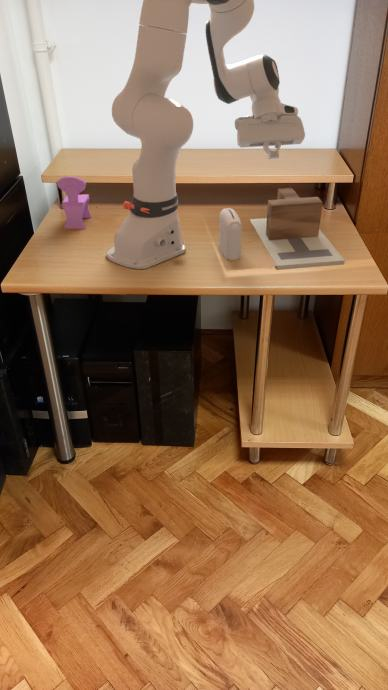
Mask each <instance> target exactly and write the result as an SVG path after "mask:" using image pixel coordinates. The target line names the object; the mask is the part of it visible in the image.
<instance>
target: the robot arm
mask: <svg viewBox="0 0 388 690" xmlns="http://www.w3.org/2000/svg"><path fill="white" fill-rule="evenodd" d="M192 4H199V5H208V6H209V9H210V17H209V18H208V20H206V22H205V38H206V46H207V51H208V56H209V61H210V66H211V71H212V76H213V88H214V91H215V94H216V96H217V99H218V100H220V101H221V102H223V103H226V104H227V105H231V104H233V103H235V102H238V101H240V100H242V99H245V98H248V97H250V99H251V112H252V115H247V116H243V115H242V116H238V117H237V118H235V120H234V128H235V129H236V131H237V132H236V133H237V134H236V139H237V141H236V142H237V146H238V147H239V148H254V147H255V148H256V147H262V150H263V151H264V152H265V153H266V154H267V158H268V160H271V159H272V160H273V159H276V160H277V159H279V157H280V153H279V152H280V148H281V146H290V145H291V146H292V145H301V144H302V143H303V142H304V140H305V137H306V132H305V128H304V125H303V121H302V119H301V117H299V116H298V114H299V109H298V107H296V106H292V105H290V104H289V105H288V104H285V103H283V102H281V99H280V97H279V95H280V94H279V93H280V92H279V91H280V89H279V87H280V84H281V83H280V76H279V70H278V65H277V62H276V61H275V59H274V58H272V57H270V56H269V55H267V54H264V53H263V54H259V55H255V56H253V57H249V58H247V59H245V60H242V61H239V62H235V63H232V64H228V63H227V64H226V60H225V54H224V47H225V46H226V44H228V42H230V40H232V39H233V38H235V36H237V35H238V34H239V33H241V32H242V31H243V30H244V29H245V28H246V27H247V26H248V25H249V23H250V22H251V20H252V18H253V14H254V11H255V0H143V1H142V6H141V11H140V17H139V23H138V24H139V26H138V33H137V40H136V48H135V54H134V61H133V65H132V68H131V71H130V73H129V76H128V79H127V81H126V84H125V86H124V88H123V89H122V90H121V91H120V92H119V93H118V94H117V96H116V97H114V99H113V102H112V106H111V116H112V119H113V121H114V123H115V124H116V126H118V127H119V129H121V130H122V131H123V132H124V133H126V134H127V135H129V136H131V137H134V138H136V139H139V140H140V142H141V143H140V145H141V147H140V148H141V149H140V154H139V157H138V158H137V159H136V160H135V161H134V162H133V164H132V170H131V171H132V183H133V184H132V185H133V194H132V198H131V201H127V200H124V202H123V204H122V207H123V209H125V210H127V211H128V210H129V213H128V215H127V216H126V217H125V219H124V221H123V222H122V224H121V225H120V226H119V228H118V229H117V231H116V232H115V234H114V244H113V246H112V247H111V248H110V249H108V250H107V251H106V252H105V253H106V254H105V255H106V258H107V259H108V260H109V261H111V262H113V263H115V264H117V265H120V266H122V267H127V268H130V269H139V270H145V269H148V268H150V267H153V266H155V265H158V264H159V263H162V262H164V261H165V262H166V261H167V260H170V259H172V258H175V257H177V256H179V255H182V254H185V253H186V251H187V250H186V246H185V244H184V241H183V236H182V235H183V234H182V228H181V227H182V226H181V221H180V217H179V215H178V214H179V213H178V208H179V199H178V198H179V197H178V193H177V192H176V191H177V190H176V187H177V186H176V185H177V183H176V182H177V181H176V179H177V178H176V177H177V176H176V175H177V174H176V172H177V171H176V167H177V166H176V165H177V162H178V161H177V160H178V157H179V153H180V151H181V149H182V148H183V146H184V145H186V143H188V142H189V140H190V139H191V136H192V135H193V130H194V118H193V115H192V113H191V112H190V111H189V109H188V108H186V107H185V106H184V105H183V104H181V103H180V102H178V101H176V100H175V99H172V98H168V97H165V96H166V92H167V89H168V87H169V85H170V83H171V82H172V80H173V79H174V78H175V77H176V76H178V75H179V74H180V72H181V71H182V67H183V61H184V54H185V48H186V42H187V33H188V28H189V27H188V25H189V18H190V17H189V15H190V7H191V5H192ZM272 146H273V147H274V148H275V150H272V149H270V147H272Z"/></svg>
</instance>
